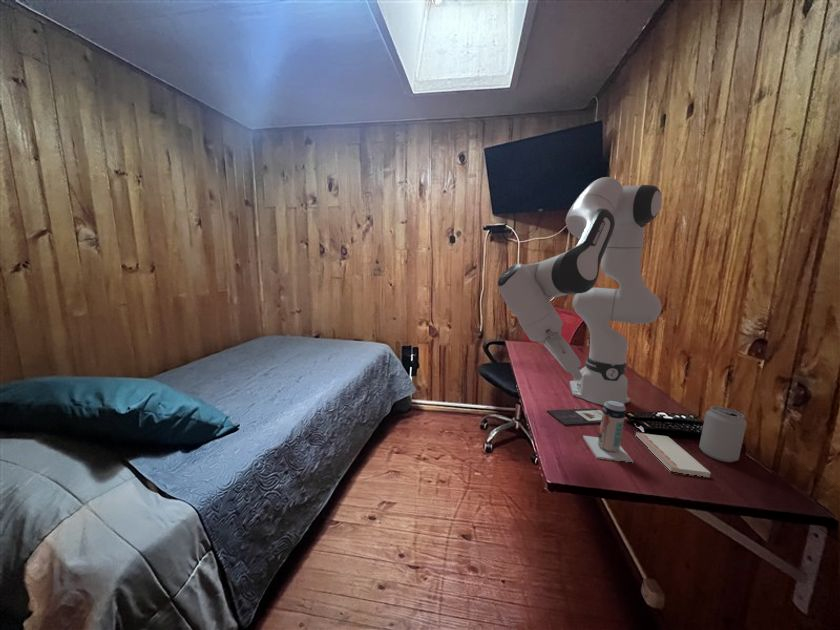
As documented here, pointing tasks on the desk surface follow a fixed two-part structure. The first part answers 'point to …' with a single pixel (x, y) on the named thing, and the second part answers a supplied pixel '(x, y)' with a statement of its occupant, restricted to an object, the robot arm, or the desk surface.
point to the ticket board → (672, 455)
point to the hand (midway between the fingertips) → (572, 370)
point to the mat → (604, 454)
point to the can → (722, 434)
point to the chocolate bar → (577, 416)
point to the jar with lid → (611, 425)
